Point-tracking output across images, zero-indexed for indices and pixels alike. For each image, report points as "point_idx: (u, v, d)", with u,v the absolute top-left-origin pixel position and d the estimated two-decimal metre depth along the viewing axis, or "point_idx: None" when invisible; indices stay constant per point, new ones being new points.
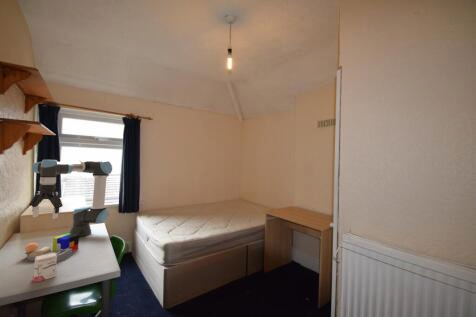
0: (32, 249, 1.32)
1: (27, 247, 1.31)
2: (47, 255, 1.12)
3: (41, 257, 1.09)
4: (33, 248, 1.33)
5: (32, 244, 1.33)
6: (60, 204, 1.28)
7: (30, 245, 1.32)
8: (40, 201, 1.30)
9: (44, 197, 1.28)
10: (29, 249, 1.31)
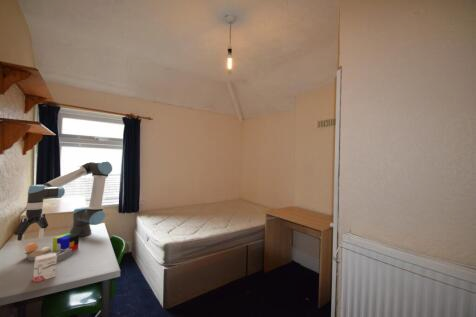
0: (32, 249, 1.32)
1: (27, 247, 1.31)
2: (47, 255, 1.12)
3: (41, 257, 1.09)
4: (33, 248, 1.33)
5: (32, 244, 1.33)
6: (17, 232, 1.24)
7: (30, 245, 1.32)
8: (40, 224, 1.39)
9: None
10: (29, 249, 1.31)
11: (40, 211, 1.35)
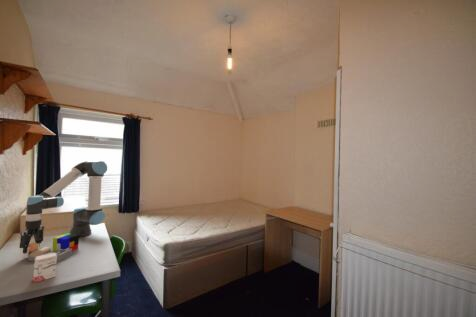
0: (32, 249, 1.32)
1: None
2: (47, 255, 1.12)
3: (41, 257, 1.09)
4: (33, 248, 1.33)
5: (32, 244, 1.33)
6: (21, 245, 1.27)
7: (30, 245, 1.32)
8: (36, 237, 1.37)
9: None
10: (29, 249, 1.31)
11: (39, 222, 1.35)
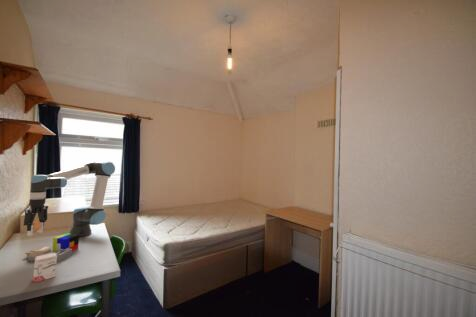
0: (36, 227, 1.33)
1: None
2: (47, 255, 1.12)
3: (41, 257, 1.09)
4: (37, 227, 1.33)
5: (36, 222, 1.33)
6: (25, 223, 1.28)
7: (34, 223, 1.33)
8: (40, 216, 1.37)
9: None
10: (33, 227, 1.32)
11: (43, 201, 1.35)
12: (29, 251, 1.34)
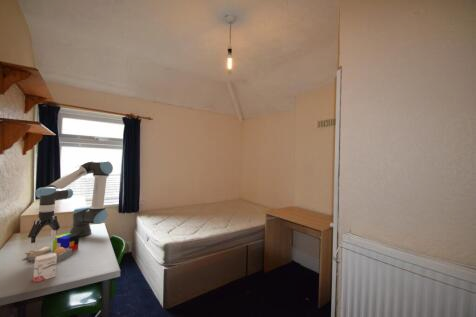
0: (56, 249, 1.32)
1: None
2: (47, 255, 1.12)
3: (41, 257, 1.09)
4: (56, 249, 1.33)
5: None
6: (30, 234, 1.25)
7: None
8: (52, 226, 1.39)
9: None
10: (55, 251, 1.31)
11: (52, 213, 1.35)
12: (29, 251, 1.34)
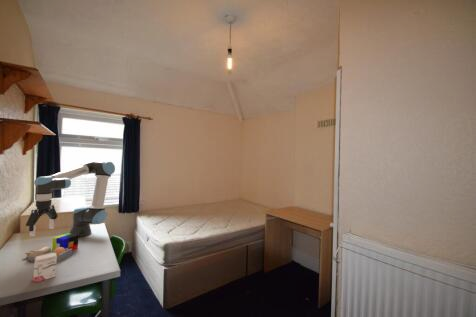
0: (55, 249, 1.32)
1: None
2: (47, 255, 1.12)
3: (41, 257, 1.09)
4: (55, 249, 1.33)
5: None
6: (28, 223, 1.25)
7: None
8: (50, 215, 1.40)
9: None
10: (54, 251, 1.31)
11: (49, 202, 1.35)
12: (29, 251, 1.34)
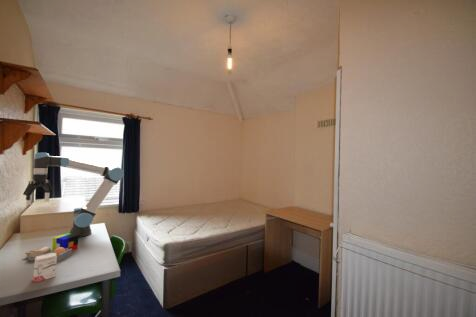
0: (55, 249, 1.32)
1: None
2: (47, 255, 1.12)
3: (41, 257, 1.09)
4: (55, 249, 1.33)
5: None
6: (25, 192, 1.40)
7: None
8: (45, 188, 1.55)
9: None
10: (55, 251, 1.31)
11: (45, 176, 1.51)
12: (29, 251, 1.34)
